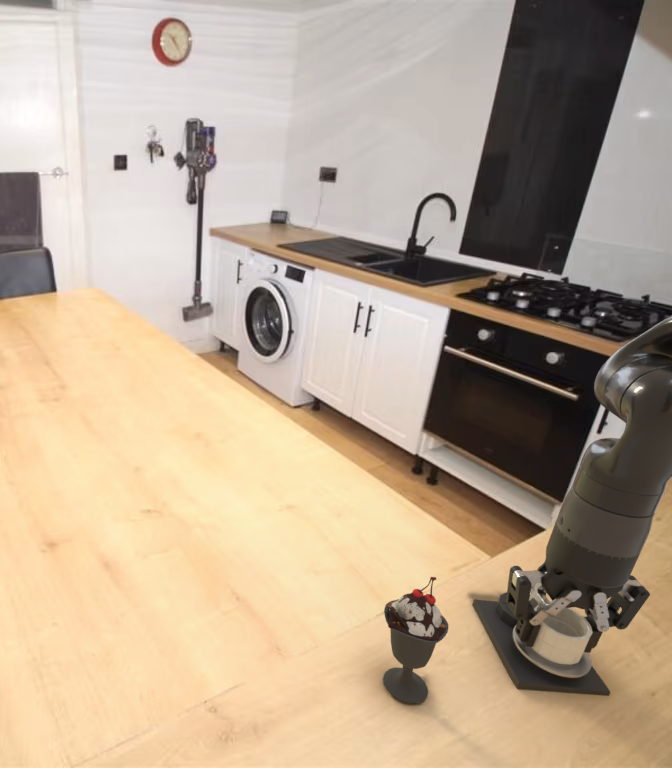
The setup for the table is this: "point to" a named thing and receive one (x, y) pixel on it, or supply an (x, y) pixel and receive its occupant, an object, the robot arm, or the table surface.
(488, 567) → the table surface
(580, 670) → the scale pan
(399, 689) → the sundae
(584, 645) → the bowl
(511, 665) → the scale
